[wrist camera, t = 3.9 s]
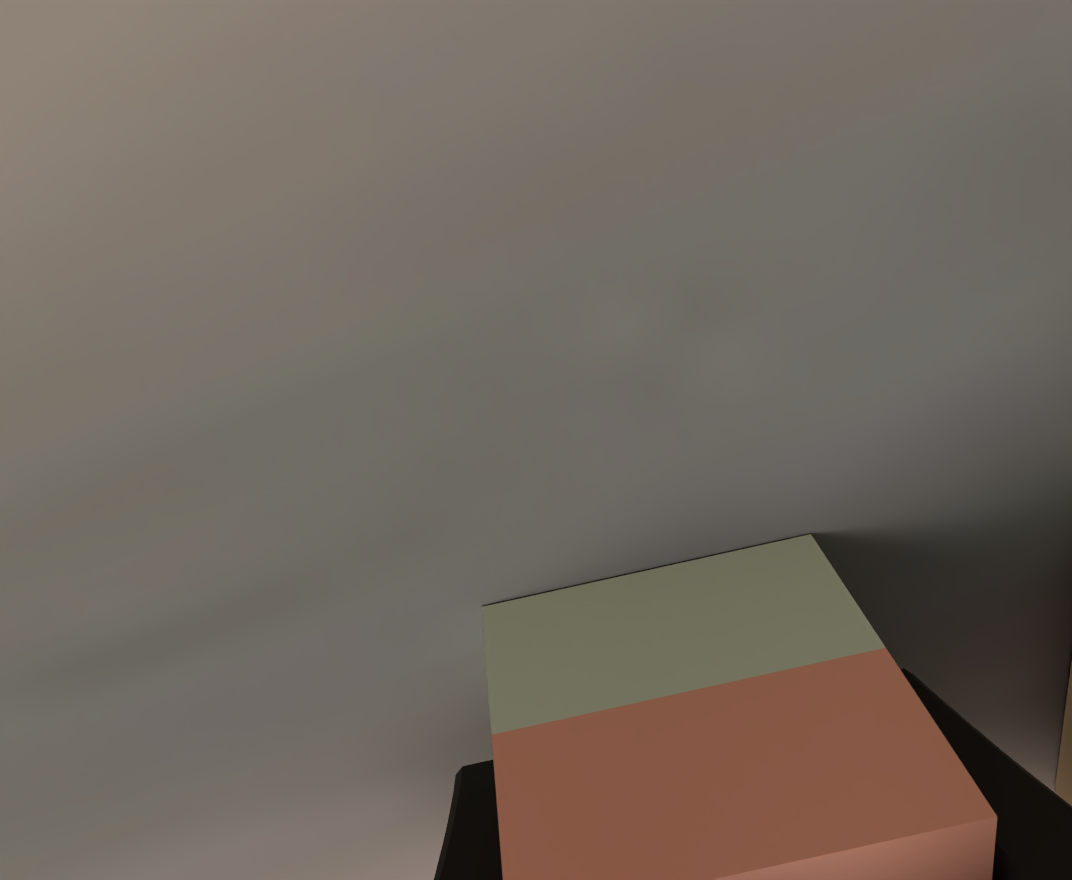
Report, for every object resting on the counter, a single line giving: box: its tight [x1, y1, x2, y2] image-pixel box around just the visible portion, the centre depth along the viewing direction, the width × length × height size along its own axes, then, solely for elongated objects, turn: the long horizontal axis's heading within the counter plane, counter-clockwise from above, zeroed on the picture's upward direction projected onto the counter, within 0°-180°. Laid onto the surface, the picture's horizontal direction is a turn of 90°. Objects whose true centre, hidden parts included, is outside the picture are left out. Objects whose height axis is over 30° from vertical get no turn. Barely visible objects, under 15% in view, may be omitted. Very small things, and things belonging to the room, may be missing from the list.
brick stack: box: [481, 534, 997, 880], centre depth 11 cm, size 4×4×4 cm
